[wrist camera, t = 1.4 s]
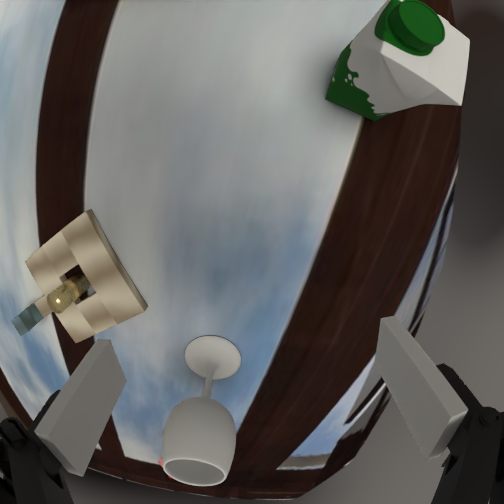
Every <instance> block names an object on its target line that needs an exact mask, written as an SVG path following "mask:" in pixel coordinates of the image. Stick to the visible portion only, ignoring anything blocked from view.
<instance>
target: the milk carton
mask: <svg viewBox="0 0 504 504" xmlns="http://www.w3.org/2000/svg"><path fill="white" fill-rule="evenodd" d="M469 46H470V40H469V39H468V38H467V37H465V36H464V35H463V34H462V33H460V32H459V31H458V30H457V29H455V28H454V27H453V26H451V25H450V24H449V22H448V21H447V20H445V19H444V18H443V17H441V16H440V15H437V14H436V13H435V12H434V11H433V10H432V9H431V8H430V7H429V6H427V5H426V4H424V3H422V2H420V1H418V0H387V1H386V2H385V4H384V5H383V6H382V7H381V8H380V10H379V11H378V12H377V13H376V14H375V16H374V17H373V18H372V19H371V20H370V22H369V23H368V24H367V25H366V26H365V27H364V28H363V29H362V30H361V31H360V32H359V34H358V35H357V36H356V37H355V38H354V39H353V40H352V41H351V42H350V43H349V44H348V46H347V47H346V48H345V49H344V50H343V51H342V52H341V54H340V56H339V59H338V62H337V65H336V67H335V71H334V74H333V77H332V80H331V83H330V86H329V89H328V92H327V95H326V98H325V99H326V100H329V101H331V102H333V103H336V104H338V105H340V106H342V107H345V108H347V109H349V110H351V111H353V112H355V113H357V114H360V115H362V116H364V117H366V118H368V119H370V120H372V121H376V120H378V119H380V118H382V117H384V116H386V115H388V114H390V113H393V112H396V111H399V110H403V109H406V108H410V107H413V106H417V105H421V104H447V105H460V106H461V104H462V99H463V93H464V87H465V80H466V73H467V65H468V56H469Z"/></svg>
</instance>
